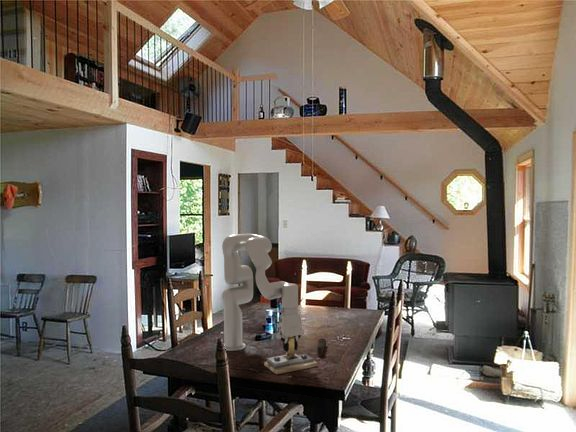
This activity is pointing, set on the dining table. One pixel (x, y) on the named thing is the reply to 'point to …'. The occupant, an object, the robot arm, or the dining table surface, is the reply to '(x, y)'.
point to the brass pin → (291, 346)
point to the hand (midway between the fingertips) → (290, 349)
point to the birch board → (291, 367)
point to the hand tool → (321, 346)
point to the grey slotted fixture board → (288, 360)
